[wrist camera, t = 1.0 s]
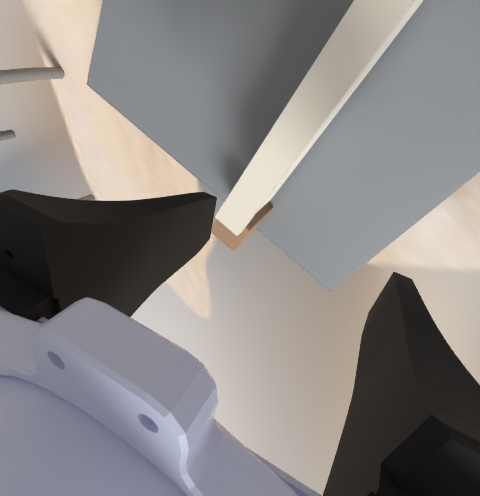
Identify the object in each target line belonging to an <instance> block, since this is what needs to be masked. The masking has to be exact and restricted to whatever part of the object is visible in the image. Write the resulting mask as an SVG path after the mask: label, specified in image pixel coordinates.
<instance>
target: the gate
mask: <svg viewBox="0 0 480 496" xmlns="http://www.w3.org/2000/svg"><path fill="white" fill-rule="evenodd" d="M423 1H424V0H354V1H353V3H352V4H351V6H350V7H349V9H348V11H347V12H346V14H345V15H344V17H343V18H342V20H341V21H340V23H339V25H338V26H337V28H336V29H335V31H334V32H333V34H332V35H331V37H330V39H329V40H328V42H327V43H326V45H325V46H324V48H323V49H322V51H321V53H320V54H319V56H318V57H317V59H316V60H315V62H314V64H313V65H312V67H311V68H310V70H309V71H308V73H307V74H306V76H305V78H304V79H303V81H302V82H301V84H300V85H299V87H298V88H297V90H296V92H295V93H294V95H293V96H292V98H291V99H290V101H289V102H288V104H287V106H286V107H285V109H284V110H283V112H282V113H281V115H280V116H279V118H278V120H277V121H276V123H275V124H274V126H273V127H272V129H271V130H270V132H269V134H268V135H267V137H266V138H265V140H264V141H263V143H262V145H261V146H260V148H259V149H258V151H257V152H256V154H255V155H254V157H253V159H252V160H251V162H250V163H249V165H248V166H247V168H246V169H245V171H244V173H243V174H242V176H241V177H240V179H239V180H238V182H237V183H236V185H235V187H234V188H233V190H232V191H231V193H230V194H229V196H228V197H227V199H226V201H225V202H224V204H223V205H222V207H221V209H220V210H219V212H218V213H217V215H216V216H215V218H216V219H218V220H219V221H220V222H221V223H222V224H223V225H225V226H226V227H227V228H228V229H229V230H230V231H232V232H233V233H234V234H235V235H236V236H238V235H239V234H240V233H241V232H242V231H243V230H244V229H245V227H246V226H247V225H248V223H249V222H250V221H251V219H252V218H253V217H254V215H255V214H256V213H257V212H258V211H259V210H260V209H261V208H262V207H263V206H264V205H265V204H267V203H268V202H269V201H270V200H271V199H272V198H273V196H274V195H275V194H276V193H277V191H278V190H279V189H280V187H281V186H282V185H283V183H284V182H285V181H286V179H287V178H288V177H289V176H290V174H291V173H292V172H293V170H294V169H295V168H296V166H297V165H298V164H299V163H300V161H301V160H302V159H303V157H304V156H305V155H306V153H307V152H308V151H309V149H310V148H311V147H312V146H313V144H314V143H315V142H316V140H317V139H318V138H319V136H320V135H321V134H322V132H323V131H324V130H325V129H326V127H327V126H328V125H329V123H330V122H331V121H332V119H333V118H334V117H335V115H336V114H337V113H338V112H339V110H340V109H341V108H342V106H343V105H344V104H345V102H346V101H347V100H348V98H349V97H350V96H351V95H352V93H353V92H354V91H355V89H356V88H357V87H358V85H359V84H360V83H361V82H362V80H363V79H364V78H365V76H366V75H367V74H368V72H369V71H370V70H371V68H372V67H373V66H374V65H375V63H376V62H377V61H378V59H379V58H380V57H381V55H382V54H383V53H384V51H385V50H386V49H387V48H388V46H389V45H390V44H391V42H392V41H393V40H394V38H395V37H396V36H397V34H398V33H399V32H400V31H401V29H402V28H403V27H404V25H405V24H406V23H407V21H408V20H409V19H410V17H411V16H412V15H413V14H414V12H415V11H416V10H417V8H418V7H419V6H420V4H421V3H422V2H423Z"/></svg>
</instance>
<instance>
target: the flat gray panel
mask: <svg viewBox="0 0 480 496" xmlns="http://www.w3.org/2000/svg"><path fill="white" fill-rule="evenodd" d="M353 1H354V0H103V4H102V9H101V15H100V20H99V25H98V30H97V35H96V40H95V45H94V50H93V55H92V60H91V65H90V71H89V76H88V81H87V85H88V86H89V87H90V88H91V89H93V90H94V91H95V92H96V93H97V94H99V95H100V96H101V97H102V98H103V99H104V100H106V101H107V102H108V103H109V104H110V105H111V106H113V107H114V108H115V109H116V110H117V111H118V112H120V113H121V114H122V115H123V116H124V117H126V118H127V119H128V120H129V121H130V122H131V123H133V124H134V125H135V126H136V127H137V128H138V129H140V130H141V131H142V132H143V133H144V134H146V135H147V136H148V137H149V138H150V139H151V140H153V141H154V142H155V143H156V144H157V145H158V146H160V147H161V148H162V149H163V150H164V151H165V152H167V153H168V154H169V155H170V156H171V157H173V158H174V159H175V160H176V161H177V162H178V163H180V164H181V165H182V166H183V167H184V168H185V169H187V170H188V171H189V172H190V173H191V174H193V175H194V176H195V177H196V178H197V179H198V180H200V181H201V182H202V183H203V184H204V185H205V186H207V187H208V188H209V189H210V190H211V191H213V192H214V193H215V194H216V195H217V196H218V197H220V198H221V199H222V200H223V201H224V202H225V201H226V199H227V197H228V196H229V194H230V193H231V191H232V190H233V188H234V187H235V185H236V183H237V182H238V180H239V179H240V177H241V176H242V174H243V173H244V171H245V169H246V168H247V166H248V165H249V163H250V162H251V160H252V159H253V157H254V155H255V154H256V152H257V151H258V149H259V148H260V146H261V145H262V143H263V141H264V140H265V138H266V137H267V135H268V134H269V132H270V130H271V129H272V127H273V126H274V124H275V123H276V121H277V120H278V118H279V116H280V115H281V113H282V112H283V110H284V109H285V107H286V106H287V104H288V102H289V101H290V99H291V98H292V96H293V95H294V93H295V92H296V90H297V88H298V87H299V85H300V84H301V82H302V81H303V79H304V78H305V76H306V74H307V73H308V71H309V70H310V68H311V67H312V65H313V64H314V62H315V60H316V59H317V57H318V56H319V54H320V53H321V51H322V49H323V48H324V46H325V45H326V43H327V42H328V40H329V39H330V37H331V35H332V34H333V32H334V31H335V29H336V28H337V26H338V25H339V23H340V21H341V20H342V18H343V17H344V15H345V14H346V12H347V11H348V9H349V7H350V6H351V4H352V3H353ZM479 172H480V0H424V1H423V2H422V3H421V4H420V6H419V7H418V8H417V10H416V11H415V12H414V14H413V15H412V16H411V17H410V19H409V20H408V21H407V23H406V24H405V25H404V27H403V28H402V29H401V31H400V32H399V33H398V34H397V36H396V37H395V38H394V40H393V41H392V42H391V44H390V45H389V46H388V48H387V49H386V50H385V51H384V53H383V54H382V55H381V57H380V58H379V59H378V61H377V62H376V63H375V65H374V66H373V67H372V68H371V70H370V71H369V72H368V74H367V75H366V76H365V78H364V79H363V80H362V82H361V83H360V84H359V85H358V87H357V88H356V89H355V91H354V92H353V93H352V95H351V96H350V97H349V98H348V100H347V101H346V102H345V104H344V105H343V106H342V108H341V109H340V110H339V112H338V113H337V114H336V115H335V117H334V118H333V119H332V121H331V122H330V123H329V125H328V126H327V127H326V129H325V130H324V131H323V132H322V134H321V135H320V136H319V138H318V139H317V140H316V142H315V143H314V144H313V146H312V147H311V148H310V149H309V151H308V152H307V153H306V155H305V156H304V157H303V159H302V160H301V161H300V163H299V164H298V165H297V166H296V168H295V169H294V170H293V172H292V173H291V174H290V176H289V177H288V178H287V179H286V181H285V182H284V183H283V185H282V186H281V187H280V189H279V190H278V191H277V193H276V194H275V195H274V196H273V198H272V199H271V200H270V201H269V202H268V203H267V204H265V205H264V206H263V207H262V208H261V209H260V210H259V211H258V212H257V213H256V214H255V215H254V217H253V218H252V219H251V221H250V222H249V223H248V225H247V226H246V227H245V229H244V230H243V231H242V232H241V233H240V234H239V235H238V236H236V235H235V234H234V233H233V232H232V231H230V230H229V229H228V228H227V227H226V226H225V225H223V224H222V223H221V222H220V221H219V220H218V219H217V220H216V222H215V223H214V225H213V226H212V229H211V232H212V233H213V234H214V235H215V236H216V237H218V238H219V239H220V240H221V241H222V242H223V243H224V244H226V245H227V246H228V247H229V248H231V250H233V251H234V250H235V249H236V248H237V247H238V246H239V245H240V244H241V243H242V242H243V241H244V240H245V239H246V238H247V237H248V236H249V235H250V234H251V233H252V232H253V231H254V230H255V229H257V230H258V231H259V232H261V233H262V234H263V235H264V236H265V237H267V238H268V239H269V240H270V241H271V242H273V243H274V244H275V245H276V246H277V247H278V248H279V249H281V250H282V251H283V252H284V253H285V254H287V255H288V256H289V257H290V258H291V259H292V260H294V261H295V262H296V263H297V264H298V265H300V266H301V267H302V268H303V269H304V270H305V271H306V272H308V273H309V274H310V275H311V276H312V277H314V278H315V279H316V280H317V281H318V282H320V283H321V284H322V285H323V286H324V287H325V288H326V289H328V290H329V291H330V292H331V291H332V290H333V289H334V288H336V287H337V286H338V285H339V284H341V282H343V281H344V280H346V279H347V278H348V277H349V276H351V275H352V274H353V273H354V272H355V271H357V270H358V269H359V268H361V267H362V266H363V265H364V264H365V263H367V262H368V261H369V260H370V259H372V258H373V257H374V256H375V255H377V254H378V253H379V252H380V251H382V250H383V249H384V248H385V247H387V246H388V245H389V244H390V243H392V242H393V241H394V240H395V239H397V238H398V237H399V236H400V235H402V234H403V233H404V232H405V231H407V230H408V229H409V228H410V227H411V226H413V225H414V224H415V223H416V222H418V221H419V220H420V219H421V218H423V217H424V216H425V215H426V214H428V213H429V212H430V211H431V210H433V209H434V208H435V207H436V206H438V205H439V204H440V203H441V202H443V201H444V200H445V199H446V198H448V197H449V196H450V195H451V194H453V193H454V192H455V191H456V190H457V189H459V188H460V187H461V186H462V185H464V184H465V183H466V182H467V181H469V180H470V179H471V178H472V177H474V176H475V175H476V174H477V173H479Z"/></svg>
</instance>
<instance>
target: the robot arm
mask: <svg viewBox="0 0 480 496" xmlns="http://www.w3.org/2000/svg"><path fill="white" fill-rule="evenodd" d="M216 200H217V197H215V196H212V195H210V194H208V193H205V192H196V193H188V194H181V195H174V196H167V197H160V198H151V199H142V200H130V201H95V200H77V199H67V198H59V197H51V196H45V195H40V194H33V193H28V192H23V191H18V190H8V191H5V192H1V193H0V496H321V495H320V494H318V493H317V492H315V491H314V490H312V489H310V488H309V487H307V486H306V485H304V484H303V483H301V482H300V481H298V480H296V479H295V478H293V477H292V476H290V475H289V474H287V473H286V472H284V471H282V470H281V469H279V468H278V467H276V466H275V465H273V464H272V463H270V462H268V461H267V460H265V459H264V458H262V457H260V456H259V455H258V454H256V453H254V452H253V451H251V450H250V449H248V448H247V447H245V446H244V445H243V444H242V443H241V442H240V441H238V440H237V439H236V438H235V437H234V436H233V435H232V434H231V433H230V432H229V431H227V430H226V429H225V428H224V427H223V426H222V425H221V424H220V423H219V422H217V421H216V420H215V419H214V413H215V410H216V407H217V403H218V398H217V389H216V384H215V381H214V380H213V378H212V377H211V375H210V374H209V372H208V370H207V369H206V368H205V366H204V364H202V363H201V362H200V361H199V360H198V359H196V358H195V357H194V356H193V355H191V354H190V353H189V352H188V351H186V350H185V349H183V348H181V347H180V346H178V345H176V344H175V343H173V342H171V341H169V340H168V339H166V338H164V337H162V336H161V335H159V334H157V333H156V332H154V331H152V330H150V329H149V328H147V327H146V326H144V325H142V324H140V323H138V322H137V321H135V320H134V319H132V318H130V317H131V316H132V315H133V313H134V312H135V311H136V310H137V309H138V308H139V307H140V306H141V304H142V303H143V302H144V301H145V300H146V299H147V298H148V297H149V296H150V295H151V293H153V292H154V291H155V290H156V289H157V288H158V287H159V286H160V285H161V284H162V283H163V282H165V281H166V280H167V279H168V278H169V277H171V276H172V275H173V274H174V273H175V272H176V271H178V270H179V269H180V268H181V267H182V266H184V265H185V264H186V263H187V262H188V261H189V260H190V259H192V258H193V257H194V256H195V255H196V254H197V253H198V252H199V251H200V250H201V249H202V247H203V246H204V245H205V244H206V243H207V241H208V240H209V239H210V235H211V229H212V223H213V218H214V211H215V206H216ZM323 496H480V385H479V384H478V382H477V381H476V380H475V379H474V378H473V377H472V375H471V374H470V373H469V372H468V370H466V368H465V367H464V365H463V364H462V363H461V361H460V360H459V359H458V357H457V356H456V355H455V353H454V352H453V351H452V349H451V348H450V346H449V345H448V343H447V342H446V340H445V339H444V337H443V336H442V334H441V332H440V331H439V329H438V328H437V326H436V324H435V322H434V321H433V319H432V318H431V315H430V314H429V312H428V310H427V308H426V306H425V304H424V302H423V300H422V298H421V296H420V294H419V292H418V290H417V288H416V286H415V284H414V282H413V281H412V279H410V278H407V277H405V276H403V275H400V274H398V273H396V272H393V274H392V275H391V277H390V279H389V281H388V282H387V284H386V285H385V287H384V289H383V290H382V292H381V293H380V295H379V297H378V298H377V300H376V302H375V303H374V305H373V306H372V308H371V310H370V311H369V314H368V317H367V320H366V323H365V326H364V330H363V333H362V338H361V344H360V351H359V358H358V365H357V371H356V378H355V384H354V390H353V395H352V399H351V403H350V407H349V410H348V414H347V418H346V421H345V425H344V429H343V432H342V435H341V438H340V442H339V445H338V449H337V452H336V455H335V459H334V462H333V465H332V468H331V472H330V475H329V478H328V481H327V484H326V487H325V490H324V493H323Z"/></svg>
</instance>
